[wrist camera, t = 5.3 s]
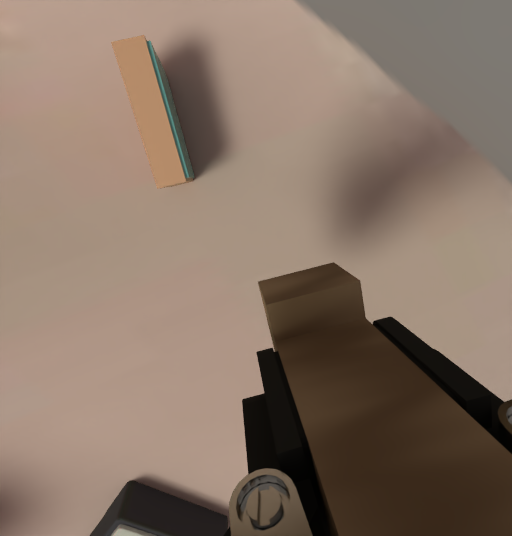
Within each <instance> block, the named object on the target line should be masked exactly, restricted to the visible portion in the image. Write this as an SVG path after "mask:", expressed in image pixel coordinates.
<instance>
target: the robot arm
mask: <svg viewBox="0 0 512 536" xmlns="http://www.w3.org/2000/svg"><path fill="white" fill-rule="evenodd" d="M373 326H375V327H376V328H377V329H378V330H379V331H380V332H381V333H382V334H383V335H384V336H385V337H386V338H387V339H388V340H390V341H391V342H392V343H393V344H394V345H395V346H396V347H397V348H398V349H399V350H400V351H401V352H402V353H404V354H405V355H406V356H407V357H408V358H409V359H410V360H411V361H412V362H413V363H414V364H415V365H416V366H417V367H419V368H420V369H421V370H422V371H423V372H424V373H425V374H426V375H427V376H428V377H429V378H430V379H431V380H433V381H434V382H435V383H436V384H437V385H438V386H439V387H440V388H441V389H442V390H443V391H444V392H445V393H446V394H448V395H449V396H450V397H451V398H452V399H453V400H454V401H455V402H456V403H457V404H458V405H459V406H460V407H462V408H463V409H464V410H465V411H466V412H467V413H468V414H469V415H470V416H471V417H472V418H473V419H474V420H475V421H477V422H478V423H479V424H480V425H481V426H482V427H483V428H484V429H485V430H486V431H487V432H488V433H489V434H491V435H492V436H493V437H494V438H495V439H496V440H497V441H498V442H499V443H500V444H501V445H502V446H503V447H504V448H506V449H507V450H508V451H509V452H510V453H511V454H512V400H509V401H506V402H503V401H502V400H501V399H500V398H498V397H497V396H496V395H494V394H493V393H492V392H490V391H489V390H488V389H487V388H485V387H484V386H483V385H481V384H480V383H479V382H478V381H476V380H475V379H474V378H472V377H471V376H470V375H468V374H467V373H466V372H465V371H463V370H462V369H461V368H459V367H458V366H457V365H455V364H454V363H453V362H452V361H450V360H449V359H448V358H446V357H445V356H444V355H443V354H441V353H440V352H439V351H437V350H435V349H432V348H431V347H430V346H429V345H427V344H426V343H425V342H424V341H422V340H421V339H420V338H418V337H417V336H416V335H415V334H413V333H412V332H411V331H409V330H408V329H407V328H406V327H404V326H403V325H402V324H400V323H399V322H398V321H397V320H395V319H394V318H393V317H387V318H383V319H379V320H376V321H374V322H373ZM257 357H258V362H259V367H260V372H261V377H262V382H263V387H264V392H265V393H264V394H261V395H257V396H253V397H250V398H246V399H243V400H242V404H243V416H244V427H245V439H246V451H247V462H248V475H247V476H246V477H244V478H243V479H242V480H241V481H240V482H239V483H238V485H237V486H236V488H235V489H234V491H233V493H232V496H231V499H230V502H229V519H230V527H229V529H228V530H227V531H226V533H225V534H224V536H330V534H329V530H328V525H327V521H326V517H325V512H324V508H323V504H322V499H321V495H320V491H319V486H318V482H317V478H316V473H315V469H314V465H313V461H312V456H311V452H310V448H309V445H308V441H307V438H306V435H305V431H304V428H303V425H302V422H301V419H300V416H299V413H298V410H297V407H296V404H295V401H294V398H293V395H292V392H291V389H290V386H289V383H288V380H287V377H286V374H285V371H284V368H283V364H282V361H281V358H280V355H279V352H278V351H276V352H274V351H273V348H270V349H266V350H262V351H258V352H257Z"/></svg>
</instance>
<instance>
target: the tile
mask: <svg viewBox="0 0 512 536" xmlns="http://www.w3.org/2000/svg"><path fill="white" fill-rule="evenodd" d="M111 43H112V46H113V49H114V53H115V56H116V59H117V62H118V65H119V68H120V72H121V75H122V78H123V81H124V84H125V87H126V91H127V94H128V97H129V100H130V103H131V106H132V110H133V113H134V116H135V119H136V122H137V125H138V129H139V132H140V135H141V138H142V141H143V144H144V148H145V151H146V154H147V157H148V160H149V163H150V167H151V170H152V173H153V176H154V179H155V182H156V186H157V189H158V188H165V187H172V186H176V185H180V184H184V183H188V182H192V181H193V179H192V178H195V176H194V173H193V169H192V166H191V162H190V158H189V155H188V151H187V148H186V144H185V140H184V137H183V133H182V130H181V126H180V122H179V119H178V115H177V112H176V108H175V104H174V101H173V97H172V94H171V90H170V87H169V83H168V79H167V76H166V73H165V71H164V69H163V67H162V65H161V62H160V60H159V58H158V56H157V54H156V52H155V50H154V48H153V45H152V43H151V41H147V40H146V38H145V36H144V35H142V36H138V37H133V38H128V39H124V40H119V41H114V42H111Z"/></svg>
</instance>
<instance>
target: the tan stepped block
mask: <svg viewBox="0 0 512 536" xmlns="http://www.w3.org/2000/svg"><path fill="white" fill-rule="evenodd" d="M258 284H259V288H260V292H261V296H262V300H263V304H264V308H265V313H266V317H267V321H268V325H269V329H270V333H271V337H272V341H273V345H274V349H275V352H276V351H278V352H279V355H280V358H281V361H282V364H283V368H284V371H285V374H286V377H287V380H288V383H289V386H290V389H291V392H292V395H293V398H294V401H295V404H296V407H297V410H298V413H299V416H300V419H301V422H302V425H303V428H304V431H305V435H306V438H307V441H308V445H309V448H310V452H311V456H312V461H313V465H314V469H315V473H316V478H317V482H318V486H319V491H320V495H321V499H322V504H323V508H324V512H325V517H326V521H327V525H328V530H329V534H330V536H512V454H511V453H510V452H509V451H508V450H507V449H506V448H504V447H503V446H502V445H501V444H500V443H499V442H498V441H497V440H496V439H495V438H494V437H493V436H492V435H491V434H489V433H488V432H487V431H486V430H485V429H484V428H483V427H482V426H481V425H480V424H479V423H478V422H477V421H475V420H474V419H473V418H472V417H471V416H470V415H469V414H468V413H467V412H466V411H465V410H464V409H463V408H462V407H460V406H459V405H458V404H457V403H456V402H455V401H454V400H453V399H452V398H451V397H450V396H449V395H448V394H446V393H445V392H444V391H443V390H442V389H441V388H440V387H439V386H438V385H437V384H436V383H435V382H434V381H433V380H431V379H430V378H429V377H428V376H427V375H426V374H425V373H424V372H423V371H422V370H421V369H420V368H419V367H417V366H416V365H415V364H414V363H413V362H412V361H411V360H410V359H409V358H408V357H407V356H406V355H405V354H404V353H402V352H401V351H400V350H399V349H398V348H397V347H396V346H395V345H394V344H393V343H392V342H391V341H390V340H388V339H387V338H386V337H385V336H384V335H383V334H382V333H381V332H380V331H379V330H378V329H377V328H376V327H375V326H373V325H372V324H371V323H370V322H369V321H368V320H367V319H366V317H365V311H364V304H363V297H362V290H361V284H360V280H358V279H357V278H355V277H354V276H353V275H351V274H350V273H348V272H347V271H345V270H344V269H342V268H341V267H340V266H338V265H337V264H335V263H334V262H333V263H330V264H326V265H322V266H318V267H314V268H310V269H306V270H302V271H298V272H294V273H290V274H286V275H282V276H279V277H275V278H271V279H267V280H263V281H259V282H258Z"/></svg>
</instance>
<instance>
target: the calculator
mask: <svg viewBox="0 0 512 536" xmlns="http://www.w3.org/2000/svg"><path fill="white" fill-rule="evenodd" d="M227 530H228V518H227V516H225V515H222V514H220V513H217V512H214V511H212V510H209V509H206V508H204V507H201V506H199V505H196V504H193V503H191V502H188V501H185V500H183V499H180V498H178V497H175V496H172V495H170V494H167V493H164V492H162V491H159V490H157V489H154V488H151V487H149V486H146V485H143V484H141V483H138V482H136V481H129V482H127V483H126V485H125V486H124V488H123V489H122V490H121V492H120V493H119V495H118V496H117V497H116V499H115V500H114V502H113V503H112V504H111V506H110V507H109V509H108V510H107V512H106V514H105V515H104V517H103V519H102V520H101V521H100V523H99V524H98V525H97V527H96V528H95V529H94V531H93V532H92V533H91V535H90V536H224V534H225V533H226V531H227Z"/></svg>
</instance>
